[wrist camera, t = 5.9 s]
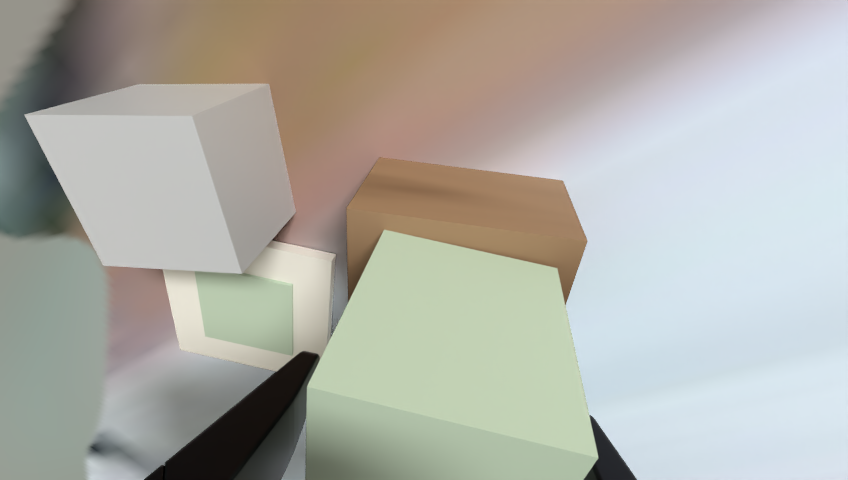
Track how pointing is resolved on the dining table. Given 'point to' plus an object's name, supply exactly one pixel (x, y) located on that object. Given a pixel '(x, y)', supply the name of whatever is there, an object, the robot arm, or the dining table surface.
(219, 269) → the grey block
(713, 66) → the dining table surface
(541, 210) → the walnut block
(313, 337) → the swatch tile
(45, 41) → the dining table surface
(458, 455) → the sage block
